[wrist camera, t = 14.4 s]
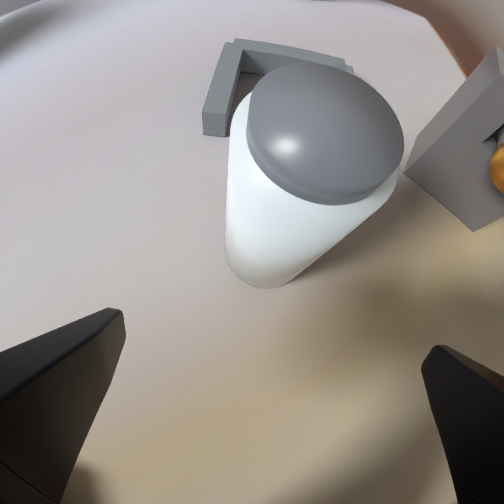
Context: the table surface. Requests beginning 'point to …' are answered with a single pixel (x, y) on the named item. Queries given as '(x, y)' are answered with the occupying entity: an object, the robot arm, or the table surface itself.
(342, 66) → the cradle
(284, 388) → the table surface
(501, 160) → the plunger
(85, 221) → the table surface
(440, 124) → the block
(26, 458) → the robot arm
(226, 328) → the table surface
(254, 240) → the cylinder
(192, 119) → the table surface
